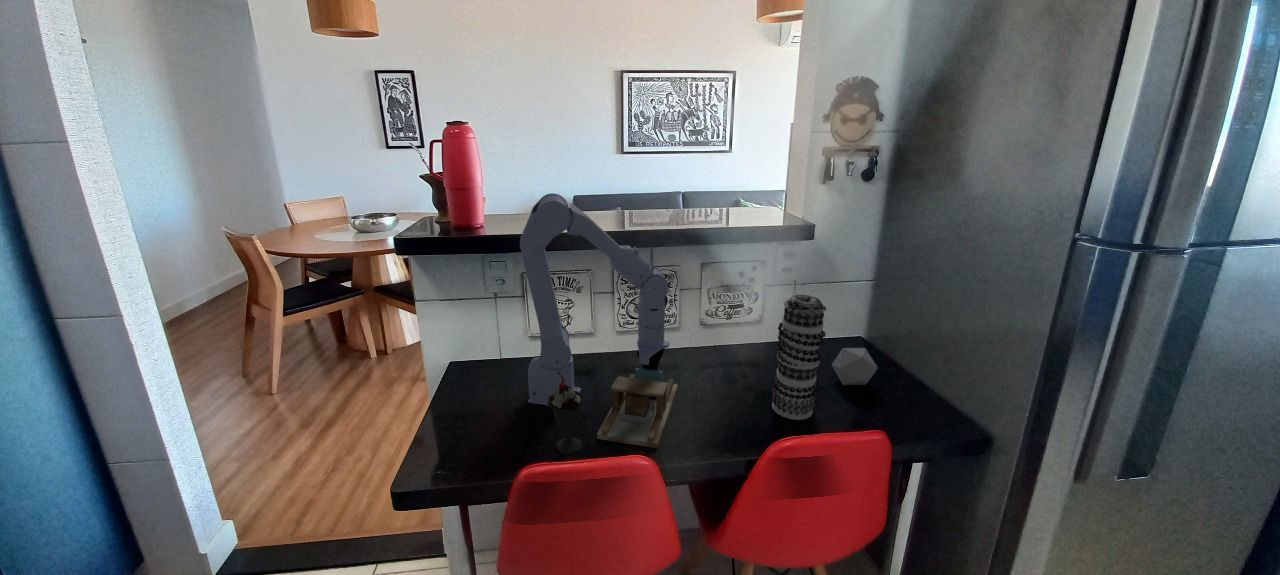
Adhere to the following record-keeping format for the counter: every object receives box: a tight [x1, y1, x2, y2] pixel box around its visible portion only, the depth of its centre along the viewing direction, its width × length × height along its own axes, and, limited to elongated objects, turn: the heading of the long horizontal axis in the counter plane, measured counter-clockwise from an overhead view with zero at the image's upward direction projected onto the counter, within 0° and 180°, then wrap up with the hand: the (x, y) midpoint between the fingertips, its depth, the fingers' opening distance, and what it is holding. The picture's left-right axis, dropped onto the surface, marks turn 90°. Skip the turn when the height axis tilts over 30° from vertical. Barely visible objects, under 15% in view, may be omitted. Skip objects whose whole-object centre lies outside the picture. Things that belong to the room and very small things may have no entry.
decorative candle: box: [771, 294, 827, 421], centre depth 103 cm, size 9×9×25 cm
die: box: [831, 347, 879, 386], centre depth 116 cm, size 8×9×10 cm
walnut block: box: [625, 393, 649, 417], centre depth 102 cm, size 4×4×4 cm
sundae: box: [547, 372, 586, 455], centre depth 92 cm, size 7×7×15 cm
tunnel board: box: [596, 373, 679, 449], centre depth 105 cm, size 12×22×7 cm, turn 166°
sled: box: [619, 367, 664, 424], centre depth 106 cm, size 6×14×5 cm, turn 166°
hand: (650, 378), depth 114 cm, fingers closed
